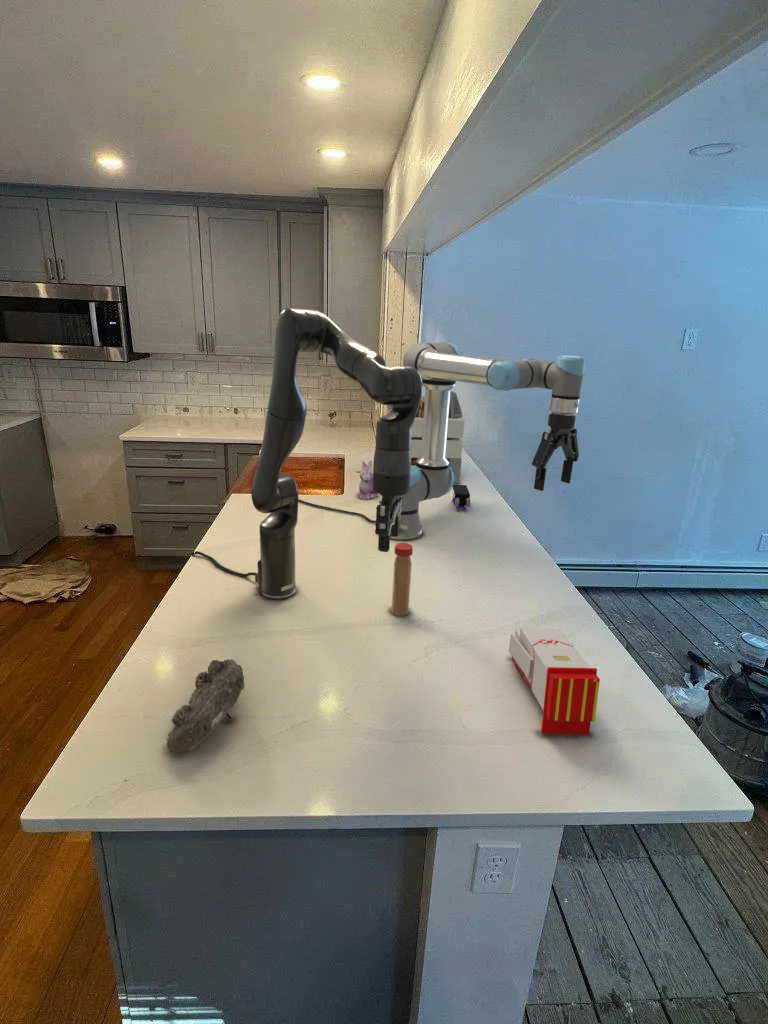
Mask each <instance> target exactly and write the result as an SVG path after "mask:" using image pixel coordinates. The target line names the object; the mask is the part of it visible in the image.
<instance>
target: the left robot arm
mask: <svg viewBox="0 0 768 1024" xmlns="http://www.w3.org/2000/svg"><path fill="white" fill-rule="evenodd" d="M317 352H318V353H323V354H325V355H328V356H330V357H332V358H333V361H334V363H335V365H336V367H337V369H338V370H339V371H340V372H341V373H342V374H343V375H344V376H346V377H347V378H349V379H351V380H352V381H353V382H355V383H357V384H359V385H360V387H361V388H362V389H363V391H364V392H365V393H366V395H367V396H368V397H369V399H371V400H372V401H373V402H374V403H377V404H379V405H383V406H387V405H393V406H392V408H391V411H390V412H389V413H388V414H387V415H386V414H385V415H383V416H381V417H379V418H378V420H377V421H376V425H375V427H376V428H375V446H374V447H375V448H374V453H373V468H372V473H373V490H374V492H376V493H378V494H379V495H380V496H381V500H379V502H378V504H377V505H376V509H375V510H376V513H375V514H376V515H375V521H376V523H375V530H374V534H375V535H378V542H377V551H379V552H383V553H389V551H390V548H391V547H390V546H391V545H390V543H391V539H390V536H393V537H397V536H398V532H399V520H400V518H401V516H400V514H402V512H403V510H402V507H403V495H405V494H407V493H408V492H409V490H410V474H411V435H412V426H413V423H414V420H415V417H416V414H417V411H418V407H419V404H420V401H421V397H423V393H424V392H423V391H424V386H423V383H422V378H421V376H420V374H419V372H418V371H417V370H416V369H415V368H413V367H410V366H403V365H402V366H388V365H387V364H388V363H387V361H386V360H385V358H384V357H383V356H382V355H381V354H380V353H378V352H376V351H375V350H373V349H371V348H369V347H367V346H366V345H363V344H362V343H360V342H359V341H357V340H355V339H354V338H353V337H351V336H349V334H348V333H346V332H345V331H343V330H342V329H341V328H340V327H339V325H337V324H336V323H335V322H334V321H333V320H332V319H331V318H329V317H328V316H327V315H326V314H325V313H323V312H322V311H319V310H317V309H311V308H300V307H286V308H284V309H283V310H282V311H281V312H280V313H279V316H278V318H277V321H276V328H275V338H274V356H273V368H272V378H271V385H270V386H271V387H270V393H269V398H268V403H267V408H266V415H265V423H264V431H263V437H262V442H261V448H260V454H259V458H258V461H257V465H256V468H255V472H254V476H253V480H252V485H251V493H250V495H251V502H252V505H253V507H254V509H255V510H256V511H257V512H259V513H261V514H268V515H267V516H266V518H264V519H263V520H262V521H261V522H260V524H259V526H258V527H259V529H258V530H259V555H260V556H259V557H260V559H259V560H258V561H257V572H251V571H250V572H247V573H242V572H237V571H234V570H232V569H229V568H227V567H226V566H223V565H221V564H220V563H219V562H217V560H216V559H215V558H213V557H212V556H211V555H208V554H206V553H204V552H201V551H199V550H198V551H196V552H195V551H193V552H191V553H190V554H189V555H190V556H194V555H199V556H202V557H204V558H206V559H208V560H210V561H211V562H212V563H213V564H214V565H215V566H216V567H218V568H220V569H221V570H224V572H227V573H230V574H232V575H235V576H238V577H242V578H247V577H249V576H254V582H255V583H256V584H257V586H258V588H257V589H258V594H259V595H260V594H261V595H262V596H263V597H265V598H267V599H271V600H272V599H274V600H283V599H287V598H290V597H292V596H293V595H294V594H296V591H297V587H296V586H297V585H296V527H297V525H298V520H299V519H298V518H299V517H298V516H299V501H298V499H299V489H298V485H297V482H296V480H295V478H294V477H293V475H291V474H290V473H288V472H282V469H283V466H284V464H285V462H286V461H287V459H288V458H289V456H290V455H291V453H292V452H293V451H294V449H295V448H296V446H298V443H299V442H300V440H301V438H302V436H303V434H304V433H303V432H304V429H305V423H306V420H307V419H306V418H307V414H308V413H307V412H308V406H307V401H306V399H305V396H304V393H303V391H302V388H301V387H300V384H299V381H298V378H297V377H298V376H297V363H298V356H299V353H317ZM378 494H377V495H378ZM382 524H385V529H382ZM194 552H195V553H194Z"/></svg>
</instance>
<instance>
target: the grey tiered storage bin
mask: <svg viewBox="0 0 768 1024" xmlns="http://www.w3.org/2000/svg"><path fill="white" fill-rule="evenodd" d="M424 404H425V396H422V397H421V401H420V404H419V407H418V411H417V414H416V417H415V420H414V423H413V426H412V435H411V465H413V466H416V461H417V459H418V458H420V457H421V449H422V434H423V419H424ZM392 406H393V405H386V413H385V415H387V414H388V413H389V412H390V411H391V408H392ZM464 429H465V419H464V418H463V411H462V408H461V405H460V402H459V398H458V395H457V392H455V391H453V390H451V392H450V404H449V416H448V428H447V441H446V453H445V458H446V459H447V461H448V462H449V466H450V467H451V469H452V473H454V484H459V483H461V472H462V461H463V460H462V453H463V442H464V441H463V440H462V439H463V438H464V431H465V430H464Z"/></svg>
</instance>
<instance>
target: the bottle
mask: <svg viewBox="0 0 768 1024" xmlns="http://www.w3.org/2000/svg"><path fill="white" fill-rule="evenodd" d="M412 565H413V563H412V559H411V556H409V557H400V556H397V555H396V556H395V559H394V561H393V573H392V574H393V575H392V576H393V577H392V591H391V593H392V595H391V610H390V611H391V613H392V615H395V616H399V617H403V616H407V615H408V614H409V611H410V599H411V581H412V580H411V579H412Z"/></svg>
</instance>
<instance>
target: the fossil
mask: <svg viewBox="0 0 768 1024" xmlns="http://www.w3.org/2000/svg"><path fill="white" fill-rule="evenodd" d="M243 670H244V669H243V667H242V665H240V664H237V662H236V661H235V660H234V659H232V658H231V659H227V658H226V659H224V660H223V661H222V660H217V659H212V660H211V661H210V663H209V665H208V666H207V671H201V672H199V673H198V674H197V675H196V676H195V680H194V684H195V685H194V687H195V689H194V690H193V693H192V694H191V697H190V698H189V700H188V704H184V705H182V706H181V707H180V709H177V710H176V711H175V713H174V715H173V716H172V718H171V723H172V724H173V727H172V730H171V731H170V732H168V734H167V738H166V741H167V742H166V745H167V749H168V750H169V751H173V752H174V753H176V754H178V753H182V752H188V751H189V752H192V751H193V750H195V748H196V747H197V746H199V744H200V743H201V742H203V741H204V740H205V739H206V738H207V737H208V736H209V735H210V734H211V733H212V732H214V730H215V729H217V727H218V726H219V724H220V722H221V721H222V720H223V719H224V718H225V716H226V717H227V719H229V720H233V717H232V715H230V714H229V710H230V709H231V708H234V706H235V704H236V703H237V702H238V699H239V697H240V695H241V693H242V691H243V690H245V689H244V688H245V675H244V671H243Z"/></svg>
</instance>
